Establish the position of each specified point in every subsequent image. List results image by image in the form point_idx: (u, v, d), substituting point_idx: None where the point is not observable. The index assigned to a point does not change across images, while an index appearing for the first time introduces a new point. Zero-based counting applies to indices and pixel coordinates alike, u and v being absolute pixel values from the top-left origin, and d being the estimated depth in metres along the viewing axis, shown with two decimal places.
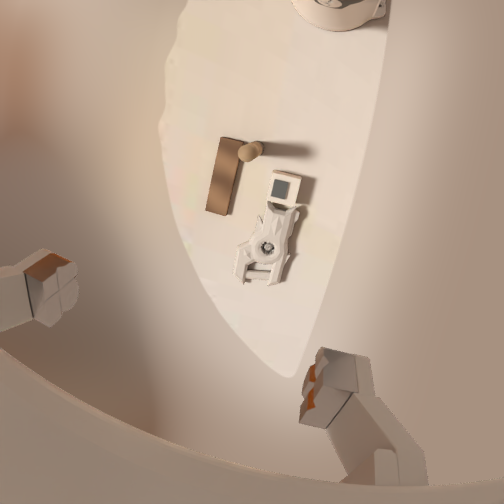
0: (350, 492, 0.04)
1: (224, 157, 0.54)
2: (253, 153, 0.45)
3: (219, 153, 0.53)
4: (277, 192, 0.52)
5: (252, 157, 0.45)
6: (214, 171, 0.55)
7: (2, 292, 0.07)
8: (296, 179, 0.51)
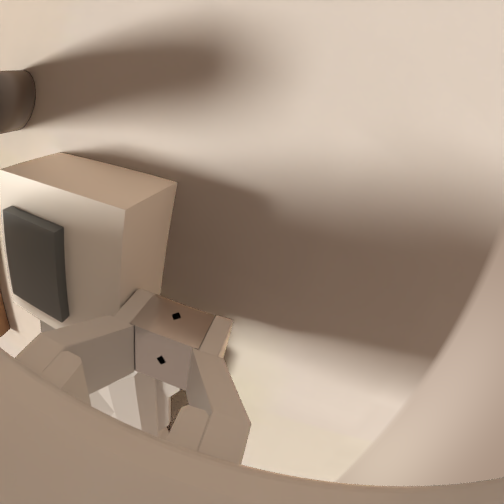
0: (350, 492, 0.04)
1: None
2: None
3: None
4: (27, 281, 0.08)
5: None
6: None
7: (105, 349, 0.07)
8: (98, 208, 0.07)
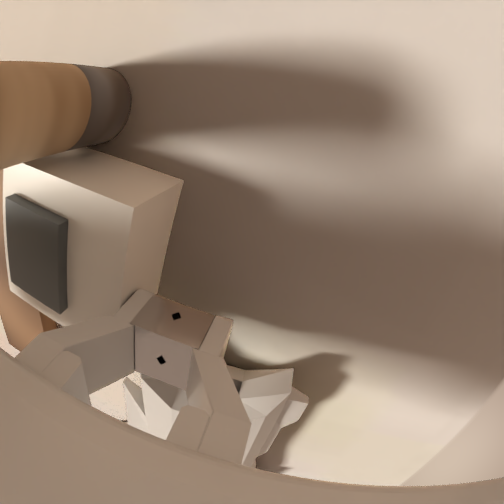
0: (350, 492, 0.04)
1: None
2: None
3: None
4: (26, 270, 0.08)
5: None
6: None
7: (105, 350, 0.07)
8: (106, 204, 0.07)
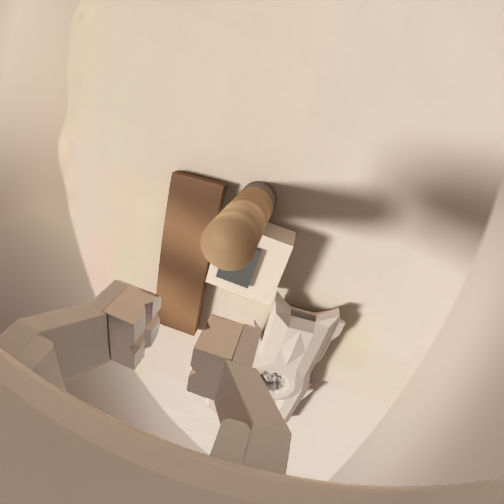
0: (350, 492, 0.04)
1: (182, 219, 0.23)
2: (249, 247, 0.14)
3: (172, 211, 0.23)
4: None
5: (246, 258, 0.15)
6: (163, 249, 0.25)
7: (78, 337, 0.07)
8: (281, 244, 0.21)
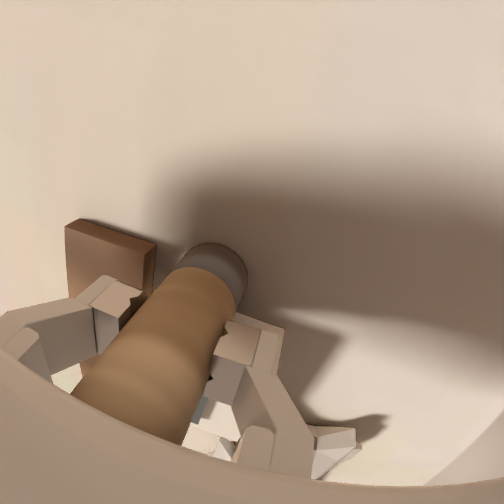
0: (350, 492, 0.04)
1: None
2: None
3: (76, 288, 0.12)
4: None
5: None
6: None
7: (65, 329, 0.07)
8: None
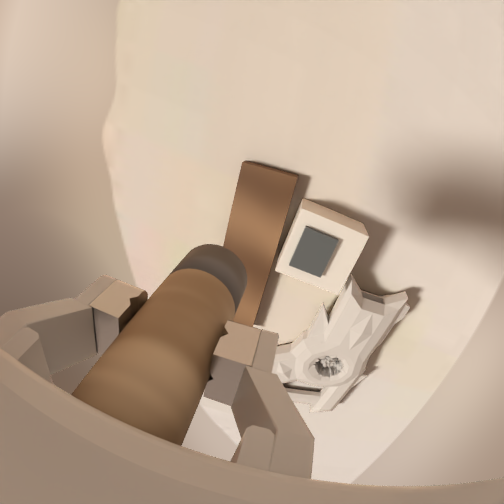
0: (350, 492, 0.04)
1: (251, 211, 0.23)
2: None
3: (240, 202, 0.23)
4: (306, 259, 0.21)
5: None
6: (227, 242, 0.24)
7: (65, 330, 0.07)
8: (358, 234, 0.20)
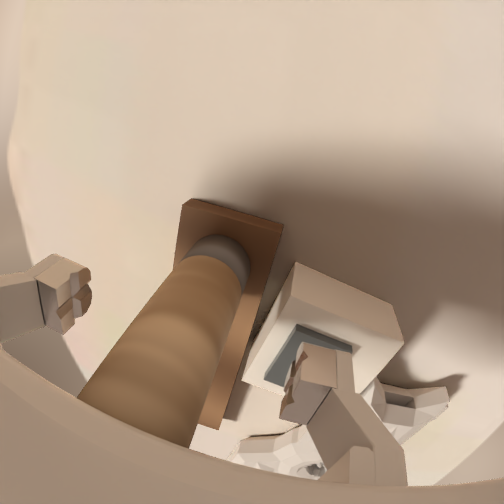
0: (350, 492, 0.04)
1: None
2: None
3: None
4: None
5: None
6: None
7: (13, 299, 0.07)
8: (387, 340, 0.11)
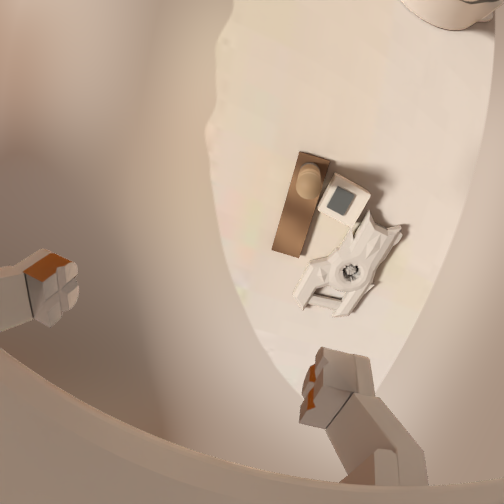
0: (350, 492, 0.04)
1: None
2: (319, 187, 0.30)
3: (297, 175, 0.39)
4: (336, 204, 0.38)
5: (317, 193, 0.31)
6: (288, 198, 0.41)
7: (2, 292, 0.07)
8: (365, 193, 0.37)
